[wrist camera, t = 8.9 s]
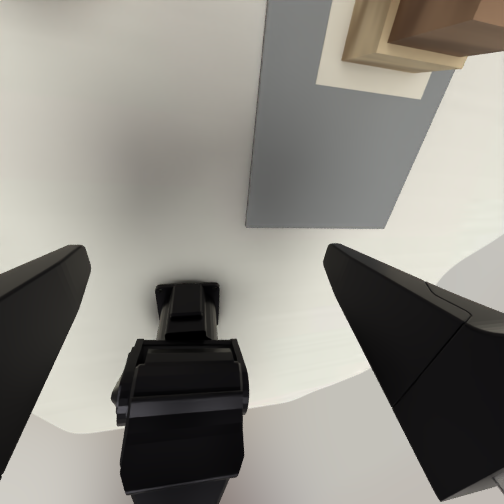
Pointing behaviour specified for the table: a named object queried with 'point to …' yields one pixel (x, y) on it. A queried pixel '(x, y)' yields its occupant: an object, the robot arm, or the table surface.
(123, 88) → the table surface
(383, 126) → the mat
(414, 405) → the robot arm
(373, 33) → the oak base block
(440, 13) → the walnut cube
